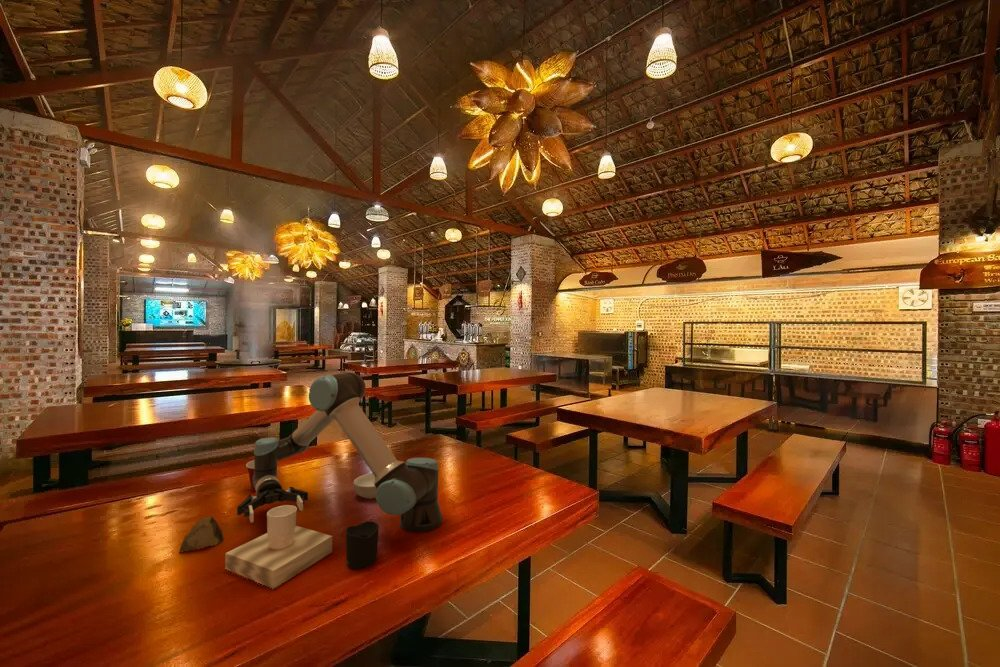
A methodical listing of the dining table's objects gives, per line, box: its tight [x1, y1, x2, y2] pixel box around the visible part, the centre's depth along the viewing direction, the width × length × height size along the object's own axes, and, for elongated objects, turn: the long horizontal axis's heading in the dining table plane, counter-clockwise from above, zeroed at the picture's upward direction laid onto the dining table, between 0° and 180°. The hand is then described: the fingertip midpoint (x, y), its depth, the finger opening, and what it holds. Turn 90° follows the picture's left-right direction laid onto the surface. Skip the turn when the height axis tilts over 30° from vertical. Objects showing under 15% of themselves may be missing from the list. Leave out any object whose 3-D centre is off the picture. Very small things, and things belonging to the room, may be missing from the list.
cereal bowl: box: [353, 472, 377, 499], centre depth 167 cm, size 17×17×7 cm
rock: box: [179, 516, 225, 553], centre depth 126 cm, size 11×9×10 cm
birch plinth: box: [224, 525, 333, 590], centre depth 118 cm, size 20×20×5 cm
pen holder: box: [345, 520, 380, 570], centre depth 119 cm, size 9×9×10 cm
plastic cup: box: [245, 459, 256, 493], centre depth 171 cm, size 11×11×12 cm
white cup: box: [266, 504, 298, 550], centre depth 118 cm, size 8×8×10 cm
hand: (277, 511), depth 123 cm, fingers open, 13 cm apart
